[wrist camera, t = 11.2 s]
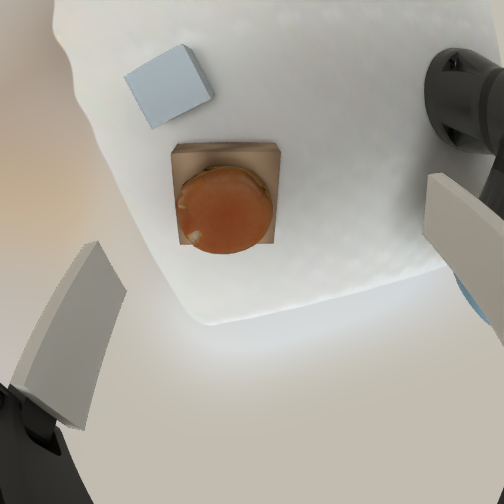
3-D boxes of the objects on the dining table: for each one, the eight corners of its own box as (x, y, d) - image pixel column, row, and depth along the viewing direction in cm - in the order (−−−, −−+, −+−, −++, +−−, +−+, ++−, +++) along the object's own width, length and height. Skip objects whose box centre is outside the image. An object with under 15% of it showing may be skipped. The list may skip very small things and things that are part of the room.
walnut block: (274, 142, 31) (280, 152, 27) (269, 224, 38) (273, 243, 34) (178, 143, 30) (170, 153, 27) (184, 225, 37) (179, 244, 33)
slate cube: (191, 49, 24) (182, 43, 19) (214, 94, 27) (210, 99, 22) (142, 75, 25) (123, 77, 20) (165, 119, 28) (152, 129, 23)
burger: (288, 197, 30) (296, 218, 27) (233, 252, 34) (233, 278, 30) (214, 139, 26) (211, 152, 22) (163, 206, 30) (153, 228, 26)
